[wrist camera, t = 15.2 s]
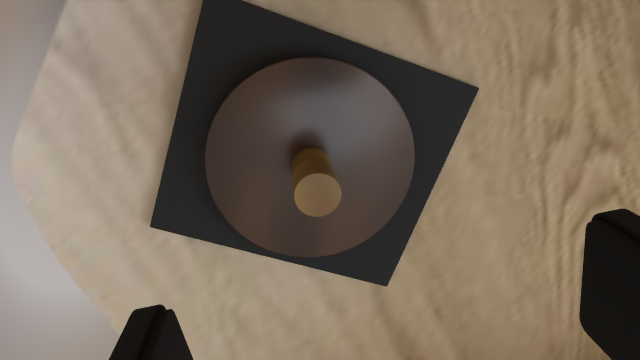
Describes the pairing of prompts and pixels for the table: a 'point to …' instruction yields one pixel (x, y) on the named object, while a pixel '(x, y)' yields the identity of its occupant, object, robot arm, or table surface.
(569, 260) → the table surface
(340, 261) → the mat
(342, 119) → the tin lid
